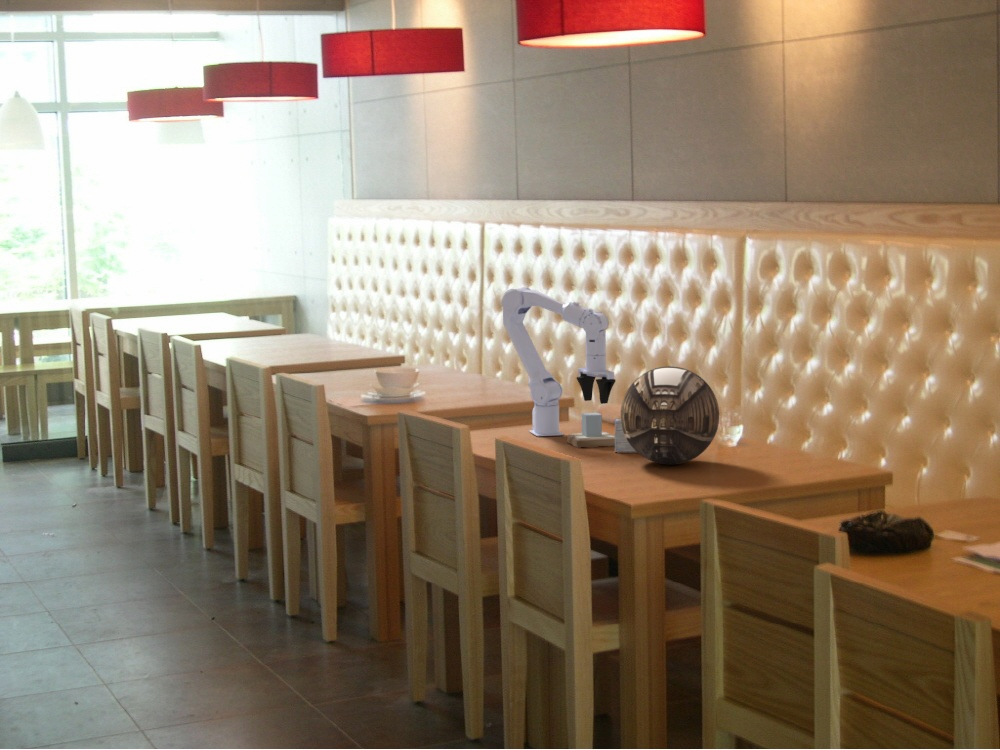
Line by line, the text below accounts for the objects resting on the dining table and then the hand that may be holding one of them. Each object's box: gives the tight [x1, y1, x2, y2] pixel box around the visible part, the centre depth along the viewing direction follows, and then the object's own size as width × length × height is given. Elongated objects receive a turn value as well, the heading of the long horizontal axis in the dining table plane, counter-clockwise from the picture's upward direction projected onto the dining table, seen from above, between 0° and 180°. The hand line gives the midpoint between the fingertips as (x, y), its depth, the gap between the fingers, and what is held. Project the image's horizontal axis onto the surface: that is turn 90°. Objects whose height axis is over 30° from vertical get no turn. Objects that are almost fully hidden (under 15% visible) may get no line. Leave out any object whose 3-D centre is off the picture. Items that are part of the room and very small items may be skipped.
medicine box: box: [614, 418, 637, 453], centre depth 350 cm, size 8×4×9 cm, turn 84°
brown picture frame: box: [567, 431, 615, 449], centre depth 362 cm, size 10×12×2 cm
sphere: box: [620, 365, 720, 466], centre depth 330 cm, size 25×25×25 cm
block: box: [581, 412, 603, 437], centre depth 361 cm, size 4×4×6 cm
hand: (595, 401), depth 372 cm, fingers open, 7 cm apart
